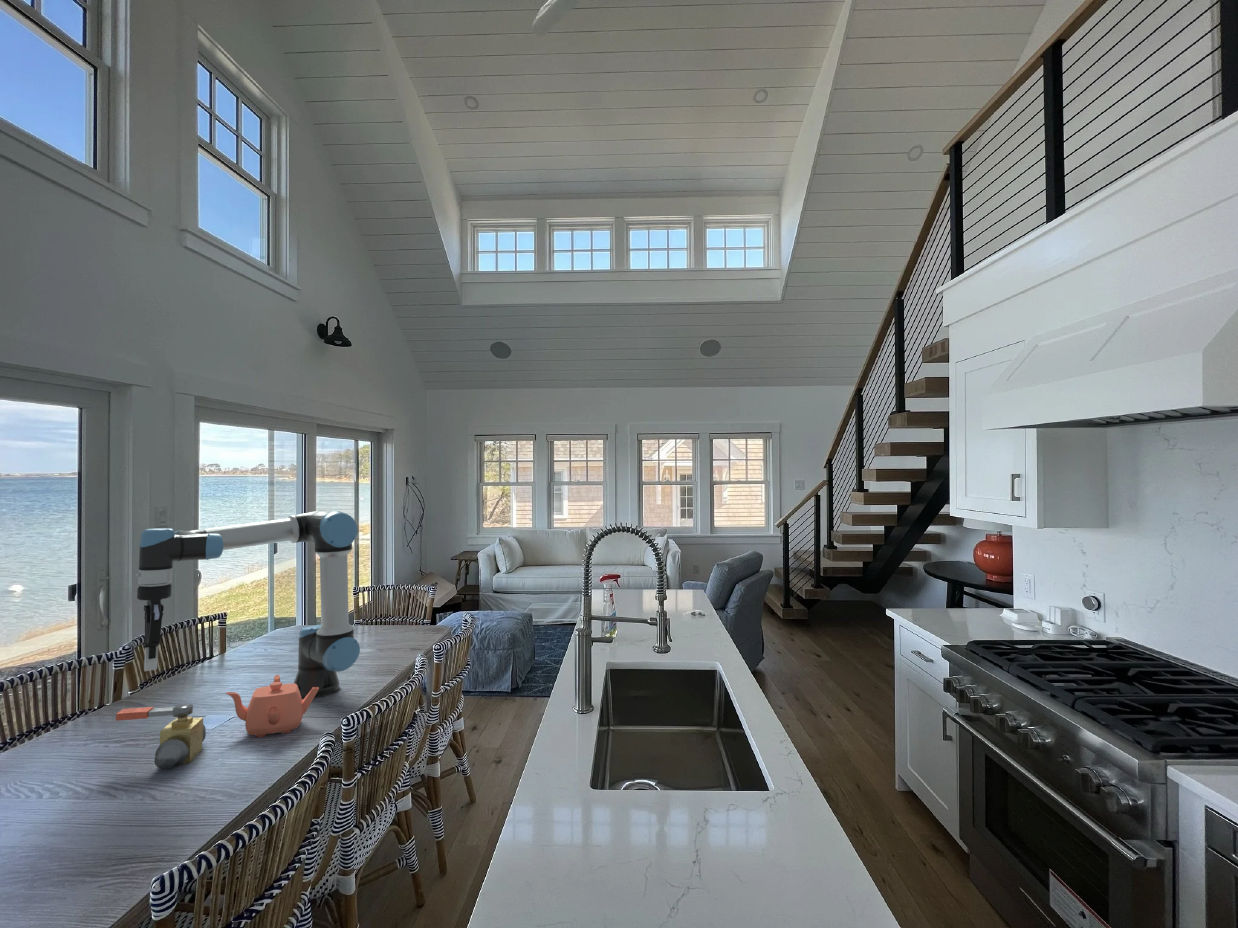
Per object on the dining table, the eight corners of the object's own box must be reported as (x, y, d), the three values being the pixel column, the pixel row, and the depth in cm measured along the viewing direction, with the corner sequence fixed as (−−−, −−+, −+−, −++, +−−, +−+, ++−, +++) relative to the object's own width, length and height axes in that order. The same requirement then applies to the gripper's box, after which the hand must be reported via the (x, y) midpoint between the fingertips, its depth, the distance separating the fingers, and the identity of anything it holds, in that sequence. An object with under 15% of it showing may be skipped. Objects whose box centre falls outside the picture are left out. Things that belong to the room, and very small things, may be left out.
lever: (195, 709, 164) (195, 703, 164) (188, 715, 160) (188, 709, 160) (123, 714, 160) (124, 708, 160) (114, 721, 156) (115, 714, 156)
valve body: (180, 744, 169) (182, 703, 169) (209, 742, 171) (211, 701, 171) (148, 775, 152) (150, 729, 152) (181, 771, 154) (183, 726, 154)
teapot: (222, 737, 174) (224, 689, 175) (275, 714, 192) (277, 670, 192) (271, 746, 169) (273, 697, 169) (321, 721, 187) (323, 677, 187)
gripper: (134, 582, 169) (130, 666, 168) (141, 588, 159) (136, 678, 159) (167, 579, 174) (163, 661, 173) (175, 585, 165) (171, 672, 164)
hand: (150, 669), depth 166 cm, fingers closed
